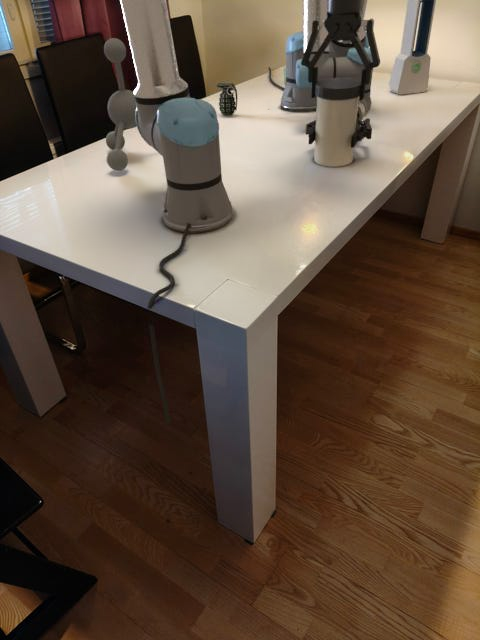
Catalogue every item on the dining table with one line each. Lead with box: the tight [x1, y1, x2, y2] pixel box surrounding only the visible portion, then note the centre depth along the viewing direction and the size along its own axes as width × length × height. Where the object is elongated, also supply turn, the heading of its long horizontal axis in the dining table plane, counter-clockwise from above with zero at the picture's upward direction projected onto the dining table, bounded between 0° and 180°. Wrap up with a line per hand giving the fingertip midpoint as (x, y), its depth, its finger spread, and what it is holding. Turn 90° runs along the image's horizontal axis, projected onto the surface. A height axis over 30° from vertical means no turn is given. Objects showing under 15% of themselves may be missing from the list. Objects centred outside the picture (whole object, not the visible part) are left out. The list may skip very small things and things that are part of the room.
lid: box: [315, 78, 361, 100], centre depth 120 cm, size 11×11×2 cm
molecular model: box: [103, 37, 137, 172], centre depth 131 cm, size 24×22×30 cm
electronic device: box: [388, 0, 437, 96], centre depth 174 cm, size 12×8×30 cm, turn 105°
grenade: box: [215, 82, 238, 117], centre depth 166 cm, size 7×6×10 cm
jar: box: [313, 96, 359, 168], centre depth 126 cm, size 10×10×18 cm
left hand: (337, 97), depth 122 cm, fingers closed on lid, 11 cm apart
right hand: (331, 140), depth 124 cm, fingers closed on jar, 10 cm apart
